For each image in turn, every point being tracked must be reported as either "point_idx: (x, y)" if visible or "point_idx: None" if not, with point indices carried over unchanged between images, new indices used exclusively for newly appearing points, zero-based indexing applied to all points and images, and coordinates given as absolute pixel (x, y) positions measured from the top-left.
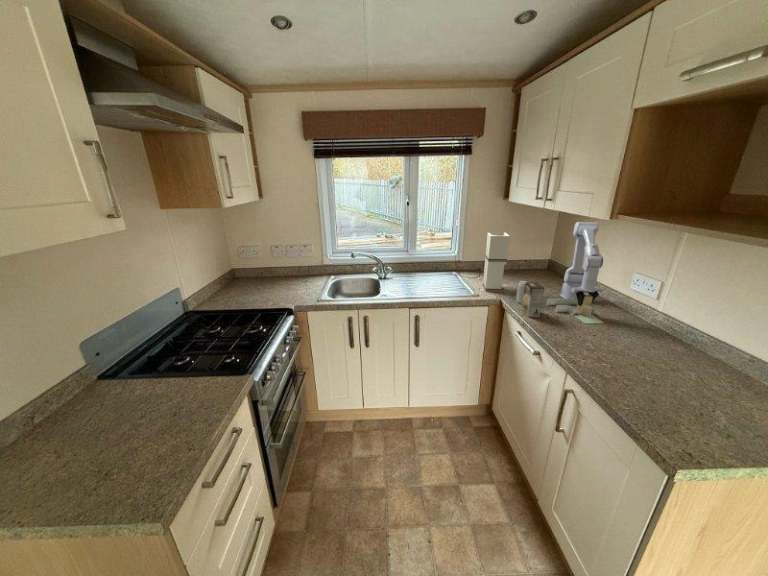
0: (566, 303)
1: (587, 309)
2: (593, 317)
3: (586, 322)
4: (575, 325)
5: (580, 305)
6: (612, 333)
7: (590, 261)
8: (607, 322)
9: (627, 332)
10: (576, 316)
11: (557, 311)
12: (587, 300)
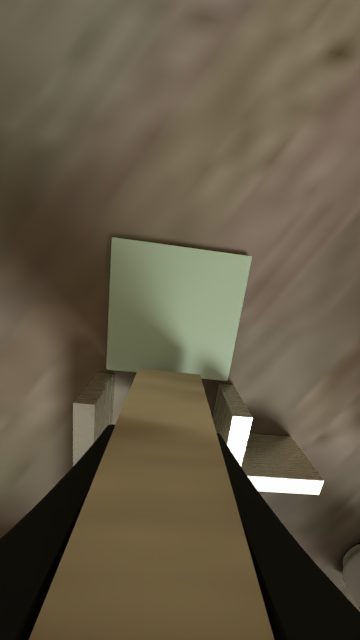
0: None
1: (154, 389)
2: (126, 330)
3: (235, 264)
4: (331, 246)
5: (222, 437)
6: (173, 54)
7: None
8: (75, 251)
9: (36, 42)
10: (229, 361)
11: (287, 440)
12: (172, 498)
